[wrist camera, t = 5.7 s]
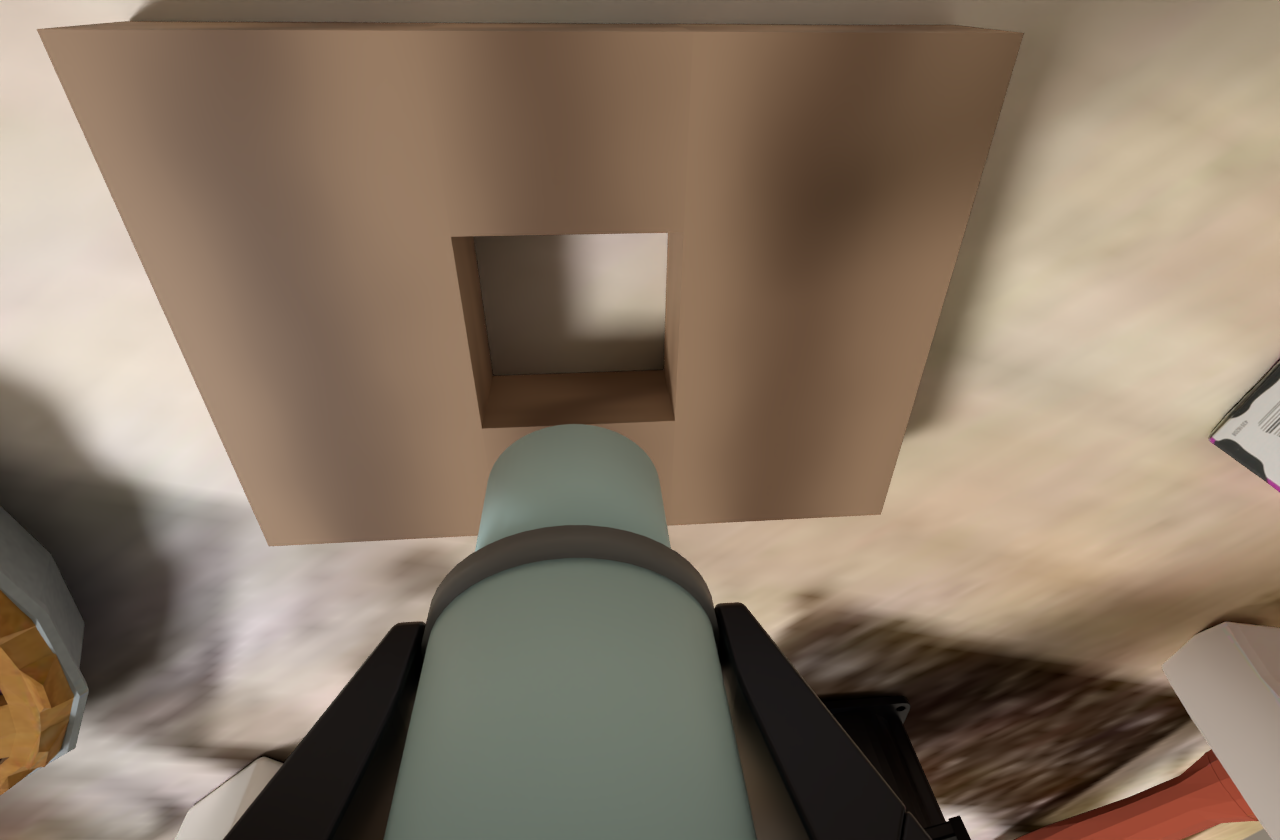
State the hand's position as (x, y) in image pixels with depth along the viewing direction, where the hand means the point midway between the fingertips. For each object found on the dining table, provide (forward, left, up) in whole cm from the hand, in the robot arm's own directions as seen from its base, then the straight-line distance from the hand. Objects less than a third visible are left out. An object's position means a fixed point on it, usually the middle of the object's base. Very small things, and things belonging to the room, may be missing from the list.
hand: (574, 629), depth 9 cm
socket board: (0, 0, -12) cm, 12 cm away
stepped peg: (0, 0, -3) cm, 3 cm away
